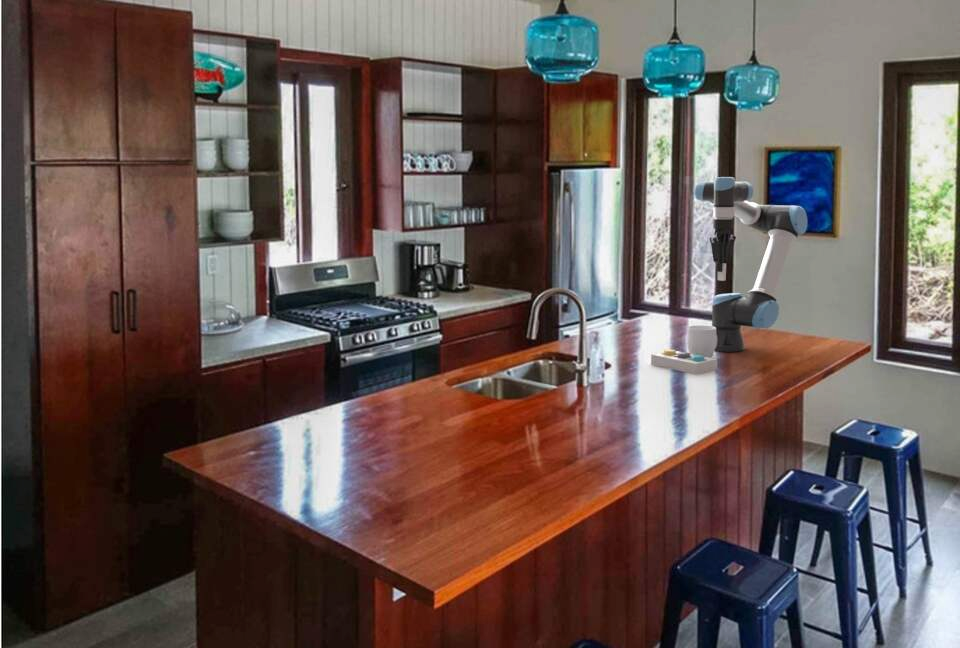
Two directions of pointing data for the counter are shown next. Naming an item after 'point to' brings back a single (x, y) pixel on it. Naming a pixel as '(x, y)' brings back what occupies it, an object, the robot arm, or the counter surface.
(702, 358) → the teal button
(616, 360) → the counter surface
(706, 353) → the mug
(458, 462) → the counter surface
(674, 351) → the mustard button
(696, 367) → the console
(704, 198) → the robot arm
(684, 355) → the charcoal button
